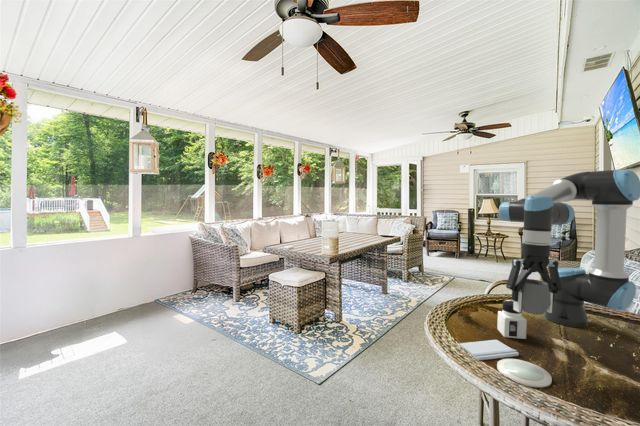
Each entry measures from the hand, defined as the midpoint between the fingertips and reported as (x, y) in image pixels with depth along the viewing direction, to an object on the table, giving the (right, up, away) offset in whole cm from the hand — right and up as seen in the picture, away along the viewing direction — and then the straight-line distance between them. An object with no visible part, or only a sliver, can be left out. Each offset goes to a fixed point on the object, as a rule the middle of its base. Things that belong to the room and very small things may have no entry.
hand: (532, 311), depth 102 cm
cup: (0, 0, 0) cm, 0 cm away
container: (+6, -16, +21) cm, 27 cm away
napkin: (-11, -16, +7) cm, 21 cm away
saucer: (-7, -17, -7) cm, 20 cm away
